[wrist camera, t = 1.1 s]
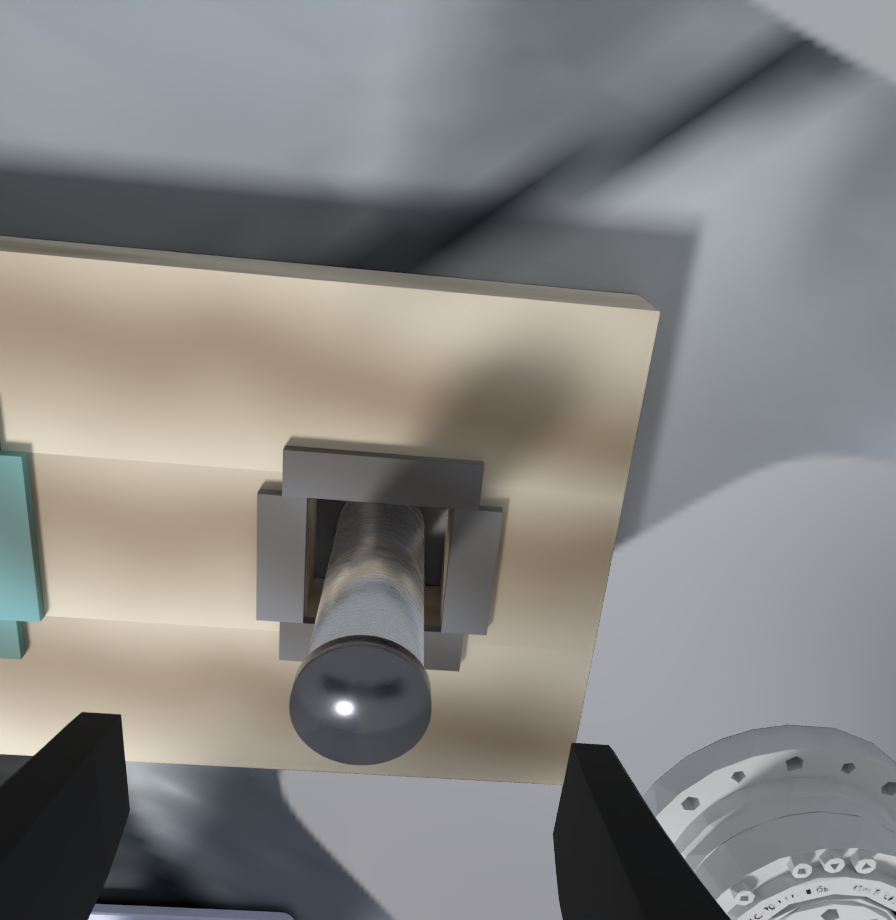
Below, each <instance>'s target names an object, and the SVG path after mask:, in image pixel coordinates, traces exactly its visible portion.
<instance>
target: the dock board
mask: <svg viewBox="0 0 896 920" xmlns="http://www.w3.org/2000/svg"><path fill="white" fill-rule="evenodd" d="M659 315H660V311H659V310H658V309H657V308H655V307H654V306H653V305H651V304H650V303H649V302H647V301H646V300H645V299H643V298H642V297H641V296H639V295H634V294H624V293H613V292H602V291H591V290H580V289H570V288H559V287H548V286H537V285H526V284H516V283H505V282H494V281H483V280H472V279H461V278H451V277H440V276H429V275H418V274H407V273H397V272H386V271H375V270H364V269H353V268H343V267H332V266H321V265H310V264H299V263H289V262H278V261H267V260H256V259H245V258H235V257H224V256H213V255H202V254H191V253H180V252H170V251H159V250H148V249H137V248H126V247H116V246H105V245H94V244H83V243H72V242H62V241H51V240H40V239H29V238H18V237H8V236H0V754H11V755H29V756H34V755H35V754H36V753H37V752H38V751H39V750H40V749H42V748H43V747H44V746H45V745H46V744H47V743H48V742H49V741H50V740H51V739H52V738H53V737H54V736H55V735H57V734H58V733H59V732H60V731H61V730H62V729H63V728H64V727H65V726H66V725H67V724H68V723H70V722H71V721H72V720H73V719H74V718H75V717H76V716H78V715H79V714H80V713H81V712H91V713H107V714H121V718H122V730H123V741H124V752H125V761H137V762H155V763H173V764H191V765H209V766H227V767H245V768H263V769H281V770H300V771H317V772H335V773H355V774H371V775H389V776H408V777H425V778H443V779H462V780H479V781H498V782H517V783H533V784H552V785H563V783H564V778H565V773H566V768H567V763H568V758H569V753H570V748H571V743H576V739H577V734H578V729H579V723H580V718H581V713H582V708H583V703H584V698H585V693H586V688H587V683H588V678H589V673H590V667H591V662H592V657H593V652H594V647H595V642H596V637H597V632H598V627H599V621H600V616H601V611H602V606H603V601H604V596H605V591H606V586H607V580H608V576H609V570H610V565H611V560H612V555H613V550H614V545H615V540H616V535H617V530H618V525H619V519H620V514H621V509H622V504H623V499H624V494H625V489H626V484H627V479H628V473H629V468H630V463H631V458H632V453H633V448H634V443H635V438H636V433H637V428H638V422H639V417H640V412H641V407H642V402H643V397H644V392H645V387H646V382H647V376H648V371H649V366H650V361H651V356H652V351H653V346H654V341H655V336H656V331H657V325H658V320H659ZM317 499H330V500H343V501H357V502H370V503H383V504H396V505H410V506H423V507H436V508H448V513H447V523H446V532H445V542H444V551H443V561H442V570H441V580H440V586H427V585H424V668H425V670H426V672H427V674H428V676H429V680H430V684H431V718H430V723H429V725H428V728H427V730H426V732H425V734H424V736H423V737H422V738H421V740H420V741H419V742H418V743H417V744H416V745H415V746H414V747H413V748H412V749H411V750H409V751H408V752H407V753H405V754H403V755H402V756H400V757H398V758H395V759H393V760H391V761H388V762H384V763H380V764H375V765H348V764H343V763H339V762H336V761H333V760H330V759H328V758H325V757H323V756H321V755H320V754H318V753H316V752H315V751H313V750H312V749H311V748H309V747H308V746H307V745H306V744H305V743H304V742H303V741H302V740H301V738H300V737H299V736H298V734H297V733H296V731H295V729H294V727H293V724H292V722H291V718H290V714H289V701H290V695H291V691H292V687H293V683H294V679H295V676H296V673H297V671H298V668H299V667H300V665H301V663H302V662H303V660H304V659H305V658H306V657H307V656H308V652H309V648H310V643H311V639H312V634H313V630H314V626H315V621H316V617H317V612H318V608H319V603H320V599H321V595H322V590H323V586H324V581H325V578H314V576H315V549H316V523H317Z"/></svg>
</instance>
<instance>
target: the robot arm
mask: <svg viewBox="0 0 896 920" xmlns="http://www.w3.org/2000/svg"><path fill="white" fill-rule="evenodd" d="M129 811H130V808H129V797H128V785H127V774H126V763H125V752H124V741H123V730H122V718H121V714H107V713H91V712H81V713H80V714H79V715H78V716H76V717H75V718H74V719H73V720H72V721H71V722H70V723H68V724H67V725H66V726H65V727H64V728H63V729H62V730H61V731H60V732H59V733H58V734H57V735H55V736H54V737H53V738H52V739H51V740H50V741H49V742H48V743H47V744H46V745H45V746H44V747H43V748H42V749H40V750H39V751H38V752H37V753H36V754H35V755H34V756H33V757H32V758H31V759H30V760H29V761H27V762H26V763H25V764H24V765H23V766H22V767H21V768H20V769H19V770H18V771H16V772H15V773H14V774H13V775H12V776H11V777H10V778H9V779H8V780H7V781H5V782H4V783H3V784H2V785H1V786H0V920H294V919H293V918H292V917H291V916H290V915H289V914H287V913H283V912H267V911H245V910H222V909H200V908H178V907H156V906H134V905H112V904H95V903H96V901H97V899H98V897H99V895H100V893H101V890H102V888H103V886H104V884H105V881H106V879H107V877H108V874H109V871H110V869H111V866H112V863H113V860H114V857H115V854H116V851H117V848H118V845H119V842H120V839H121V836H122V833H123V830H124V827H125V823H126V820H127V817H128V814H129ZM553 840H554V851H555V864H556V874H557V885H558V895H559V902H560V907H561V913H562V918H563V920H731V919H730V918H729V916H728V915H727V914H726V913H725V911H724V910H723V909H722V908H721V906H720V905H719V904H718V903H717V901H716V900H715V899H714V897H713V896H712V895H711V894H710V892H709V891H708V890H707V888H706V887H705V886H704V885H703V883H702V882H701V881H700V879H699V878H698V877H697V875H696V874H695V873H694V871H693V870H692V869H691V867H690V866H689V865H688V863H687V862H686V860H685V859H684V857H683V856H682V855H681V853H680V852H679V850H678V849H677V848H676V846H675V845H674V843H673V842H672V841H671V839H670V838H669V836H668V835H667V833H666V832H665V831H664V829H663V828H662V826H661V825H660V823H659V822H658V820H657V819H656V817H655V816H654V814H653V813H652V811H651V810H650V808H649V807H648V805H647V804H646V802H645V801H644V799H643V797H642V796H641V795H640V793H639V791H638V790H637V788H636V786H635V785H634V783H633V782H632V780H631V779H630V777H629V775H628V774H627V772H626V770H625V769H624V767H623V766H622V764H621V762H620V761H619V759H618V757H617V756H616V754H615V752H614V751H613V750H612V749H611V747H610V746H609V745H597V744H581V743H571V748H570V753H569V758H568V763H567V768H566V773H565V778H564V783H563V788H562V793H561V797H560V802H559V807H558V812H557V817H556V822H555V827H554V832H553Z"/></svg>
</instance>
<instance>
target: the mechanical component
mask: <svg viewBox="0 0 896 920" xmlns="http://www.w3.org/2000/svg"><path fill="white" fill-rule="evenodd" d="M643 799H644V801H645V802H646V804H647V805H648V807H649V808H650V810H651V811H652V813H653V814H654V816H655V817H656V819H657V820H658V822H659V823H660V825H661V826H662V828H663V829H664V831H665V832H666V833H667V835H668V836H669V838H670V839H671V841H672V842H673V843H674V845H675V846H676V848H677V849H678V850H679V852H680V853H681V855H682V856H683V857H684V859H685V860H686V862H687V863H688V865H689V866H690V867H691V869H692V870H693V871H694V873H695V874H696V875H697V877H698V878H699V879H700V881H701V882H702V883H703V885H704V886H705V887H706V888H707V890H708V891H709V892H710V894H711V895H712V896H713V897H714V899H715V900H716V901H717V903H718V904H719V905H720V906H721V908H722V909H723V910H724V911H725V913H726V914H727V915H728V916H729V918H730V919H731V920H896V762H895V761H894V760H892V759H891V758H890V757H889V756H888V755H886V754H885V753H884V752H883V751H881V750H880V749H879V748H878V747H876V746H875V745H874V744H873V743H871V742H868V741H866V740H863V739H861V738H858V737H855V736H853V735H851V734H848V733H846V732H843V731H841V730H838V729H836V728H826V727H811V726H798V725H797V726H796V725H783V726H775V727H767V728H760V729H753V730H750V731H746V732H743V733H740V734H736V735H733V736H729V737H726V738H723V739H720V740H718V741H716V742H714V743H712V744H710V745H708V746H706V747H704V748H702V749H700V750H698V751H696V752H694V753H692V754H690V755H688V756H686V757H685V758H684V759H683V760H681V761H680V762H679V763H678V764H676V765H675V766H674V767H673V768H671V769H670V770H669V771H668V772H666V773H665V774H664V775H663V776H662V777H661V778H659V779H658V780H657V781H656V782H655V783H654V784H653V785H652V786H651V788H650V789H649V790H648V791H647V793H646V794H645V795H644V797H643Z"/></svg>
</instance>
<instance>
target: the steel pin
mask: <svg viewBox="0 0 896 920" xmlns="http://www.w3.org/2000/svg"><path fill="white" fill-rule="evenodd" d="M289 714H290V718H291V722H292V724H293V727H294V729H295V731H296V733H297V734H298V736H299V737H300V738H301V740H302V741H303V742H304V743H305V744H306V745H307V746H308V747H309V748H311V749H312V750H313V751H315V752H316V753H318V754H320V755H321V756H323V757H325V758H328V759H330V760H333V761H336V762H339V763H343V764H348V765H375V764H380V763H384V762H388V761H391V760H393V759H395V758H398V757H400V756H402V755H403V754H405V753H407V752H408V751H409V750H411V749H412V748H413V747H414V746H415V745H416V744H417V743H418V742H419V741H420V740H421V738H422V737H423V736H424V734H425V732H426V730H427V728H428V725H429V723H430V718H431V684H430V680H429V676H428V674H427V672H426V670H425V668H424V518H423V515H422V512H421V510H420V508H419V506H410V505H396V504H383V503H370V502H357V501H347V502H346V503H345V505H344V506H343V508H342V510H341V512H340V516H339V520H338V524H337V528H336V533H335V537H334V542H333V546H332V550H331V555H330V559H329V564H328V568H327V573H326V577H325V581H324V586H323V590H322V595H321V599H320V603H319V608H318V612H317V617H316V621H315V626H314V630H313V634H312V639H311V643H310V648H309V652H308V656H307V657H306V658H305V659H304V660H303V662H302V663H301V665H300V667H299V668H298V671H297V673H296V676H295V679H294V683H293V687H292V691H291V695H290V701H289Z"/></svg>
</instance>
